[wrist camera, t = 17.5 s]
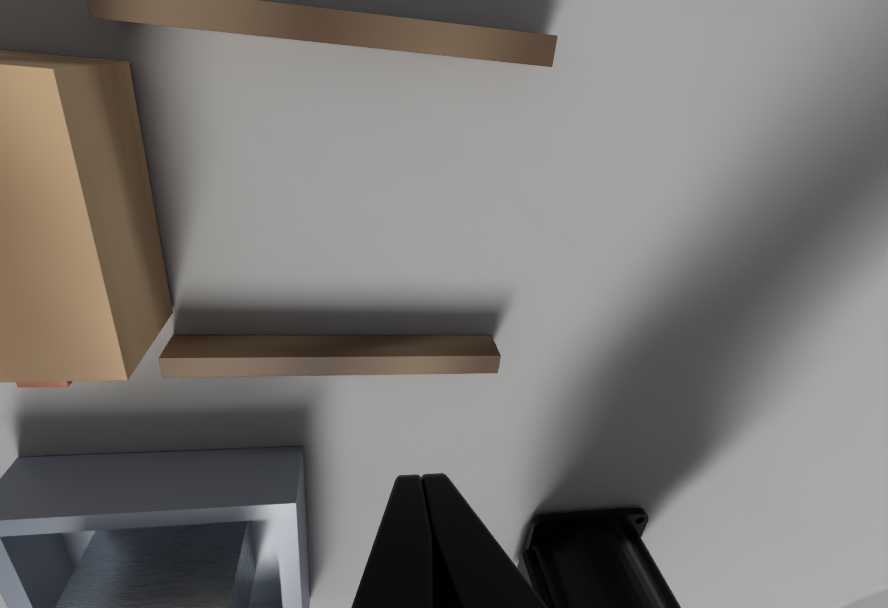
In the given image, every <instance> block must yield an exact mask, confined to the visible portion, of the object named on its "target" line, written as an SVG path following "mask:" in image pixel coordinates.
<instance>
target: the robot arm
mask: <svg viewBox="0 0 888 608" xmlns="http://www.w3.org/2000/svg"><path fill="white" fill-rule="evenodd" d="M648 518H649V517H648V515H647V514H646V512H645V510H644V509H642V508H630V509H615V510H601V511H587V512H572V513H558V514H543V515H538V516H536V517H535V518H534V519H533V520H532V522H531V525H530V529H529V533H528V537H527V541H526V545H525V549H524V550H523V551H522V553H521V555H520V559H519V563H518V567H516V566H515V564H514V563H513V562H512V560H511V559H510V558H509V557H508V555H507V554H506V553H505V551H504V550H503V549H502V547H501V546H500V545H499V543H498V542H497V541H496V539H495V538H494V537H493V536H492V534H491V533H490V532H489V530H488V529H487V528H486V526H485V525H484V524H483V522H482V521H481V520H480V518H479V517H478V516H477V515H476V513H475V512H474V511H473V509H472V508H471V507H470V505H469V504H468V503H467V501H466V500H465V499H464V498H463V496H462V495H461V494H460V492H459V491H458V490H457V488H456V487H455V486H454V484H453V483H452V482H451V480H450V479H449V478H448V477H447V476H446V475H445V474H443V473H438V474H424V475H423V476H422V477H420V476H419V475H400V476H398V477H397V478H396V480H395V483H394V486H393V489H392V492H391V494H390V497H389V500H388V503H387V506H386V509H385V512H384V515H383V518H382V521H381V524H380V526H379V529H378V532H377V535H376V538H375V541H374V544H373V547H372V550H371V553H370V555H369V558H368V561H367V564H366V567H365V570H364V573H363V576H362V579H361V582H360V585H359V587H358V590H357V593H356V596H355V599H354V602H353V605H352V608H681V607H680V605H679V603H678V602H677V600H676V598H675V596H674V595H673V593H672V591H671V589H670V588H669V586H668V584H667V582H666V581H665V579H664V577H663V575H662V574H661V572H660V570H659V569H658V567H657V565H656V563H655V562H654V560H653V558H652V556H651V555H650V553H649V551H648V549H647V548H646V546H645V544H644V542H643V541H642V539H641V536H642V534H643V531H644V529H645V527H646V524H647V522H648Z"/></svg>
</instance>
